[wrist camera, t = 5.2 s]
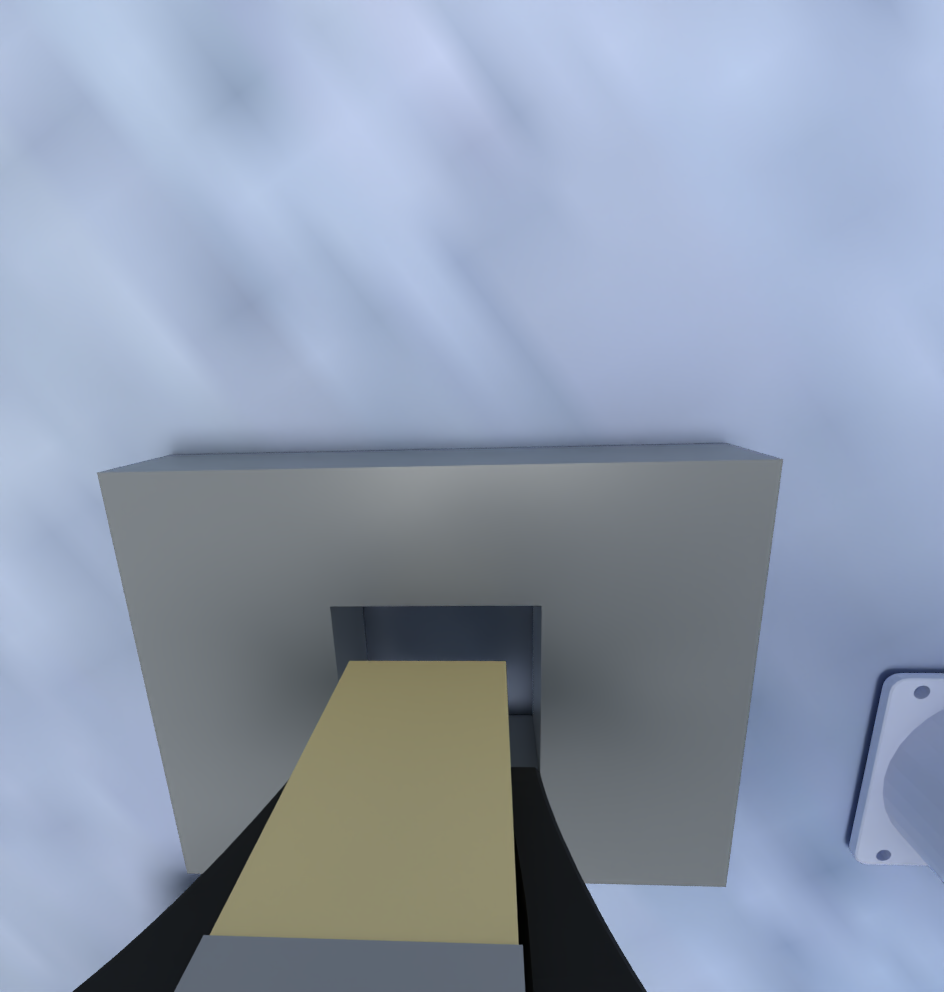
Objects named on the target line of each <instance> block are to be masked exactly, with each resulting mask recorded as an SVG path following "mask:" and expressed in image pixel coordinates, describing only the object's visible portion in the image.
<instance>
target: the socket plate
mask: <svg viewBox="0 0 944 992" xmlns="http://www.w3.org/2000/svg"><path fill="white" fill-rule="evenodd" d="M782 463H783V459H780V458H776V457H773V456H770V455H766V454H763V453H759V452H756V451H752V450H749V449H745V448H742V447H738V446H735V445H731V444H728V443H705V444H658V445H611V446H564V447H517V448H470V449H423V450H376V451H329V452H282V453H235V454H188V455H168V456H164V457H160V458H156V459H151V460H147V461H143V462H139V463H135V464H131V465H127V466H123V467H119V468H114V469H110V470H106V471H102V472H98V473H97V474H98V479H99V483H100V488H101V492H102V497H103V501H104V505H105V510H106V514H107V519H108V523H109V528H110V532H111V536H112V541H113V545H114V550H115V554H116V559H117V563H118V568H119V572H120V576H121V581H122V585H123V590H124V594H125V599H126V603H127V607H128V612H129V616H130V621H131V625H132V630H133V634H134V639H135V643H136V647H137V652H138V656H139V661H140V665H141V670H142V674H143V678H144V683H145V687H146V692H147V696H148V701H149V705H150V710H151V714H152V718H153V723H154V727H155V732H156V736H157V741H158V745H159V749H160V754H161V758H162V763H163V767H164V772H165V776H166V781H167V785H168V789H169V794H170V798H171V803H172V807H173V812H174V816H175V820H176V825H177V829H178V834H179V838H180V843H181V847H182V852H183V856H184V860H185V865H186V869H187V873H194V874H203V873H204V872H205V871H206V870H207V869H208V868H209V867H210V866H211V865H212V864H213V863H214V861H215V860H216V859H217V858H218V857H219V856H220V855H221V854H222V853H223V852H224V851H225V850H226V849H227V848H228V847H229V846H230V844H231V843H232V842H233V841H234V840H235V839H236V838H237V837H238V836H239V835H240V834H241V833H242V831H243V830H244V829H245V828H246V827H247V826H248V825H249V824H250V823H251V822H252V821H253V819H254V818H255V817H256V816H257V815H258V814H259V813H260V812H261V811H262V809H263V808H264V807H265V806H266V805H267V804H268V803H269V802H270V800H271V799H272V798H273V797H274V796H275V795H276V794H277V792H278V791H279V790H280V789H281V788H282V787H283V786H284V784H285V783H286V782H287V781H288V780H289V778H290V776H291V774H292V772H293V770H294V768H295V766H296V765H297V763H298V761H299V759H300V757H301V755H302V753H303V751H304V749H305V747H306V745H307V743H308V741H309V739H310V737H311V735H312V733H313V731H314V729H315V727H316V725H317V723H318V721H319V719H320V717H321V715H322V714H323V712H324V710H325V708H326V706H327V704H328V702H329V700H330V698H331V696H332V694H333V692H334V690H335V688H336V686H337V684H338V682H339V680H340V678H341V676H342V674H343V672H344V670H345V668H346V666H347V664H348V663H349V661H368V657H367V647H366V636H365V625H364V614H363V606H533V715H508V719H509V741H510V763H511V767H535V768H536V769H538V770H539V771H540V774H541V778H542V782H543V785H544V789H545V792H546V795H547V798H548V801H549V803H550V806H551V809H552V811H553V814H554V817H555V819H556V822H557V824H558V827H559V829H560V831H561V834H562V836H563V838H564V840H565V843H566V845H567V847H568V849H569V851H570V853H571V856H572V858H573V860H574V862H575V864H576V866H577V869H578V871H579V873H580V875H581V877H582V879H583V881H584V883H593V884H633V885H673V886H713V887H726V882H727V874H728V867H729V859H730V852H731V844H732V837H733V829H734V822H735V814H736V807H737V799H738V792H739V784H740V777H741V769H742V762H743V755H744V747H745V740H746V732H747V725H748V717H749V710H750V702H751V695H752V687H753V680H754V672H755V665H756V657H757V650H758V642H759V635H760V627H761V620H762V612H763V605H764V597H765V590H766V582H767V575H768V567H769V560H770V553H771V545H772V538H773V530H774V523H775V515H776V508H777V500H778V493H779V485H780V478H781V470H782Z"/></svg>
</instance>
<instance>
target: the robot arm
mask: <svg viewBox="0 0 944 992" xmlns="http://www.w3.org/2000/svg"><path fill="white" fill-rule="evenodd" d="M917 687H919V688H918V689H916V688H917ZM915 689H916V690H915ZM287 782H288V781H287ZM287 782H286V783H285V784H284V786H283V787H282V788H281V789H280V790H279V791H278V792H277V794H276V795H275V796H274V797H273V798H272V799H271V800H270V802H269V803H268V804H267V805H266V806H265V807H264V808H263V809H262V811H261V812H260V813H259V814H258V815H257V816H256V817H255V818H254V819H253V821H252V822H251V823H250V824H249V825H248V826H247V827H246V828H245V829H244V830H243V831H242V833H241V834H240V835H239V836H238V837H237V838H236V839H235V840H234V841H233V842H232V843H231V844H230V846H229V847H228V848H227V849H226V850H225V851H224V852H223V853H222V854H221V855H220V856H219V857H218V858H217V859H216V860H215V861H214V863H213V864H212V865H211V866H210V867H209V868H208V869H207V870H206V871H205V872H204V873H203V874H202V875H201V876H200V877H199V878H198V879H197V880H196V881H195V882H194V883H193V884H192V885H191V886H190V887H189V888H188V889H187V890H186V891H185V892H184V893H183V894H182V895H181V896H180V897H179V898H178V899H177V900H176V901H175V902H174V903H173V904H172V905H170V906H169V907H168V908H167V909H166V910H165V911H164V912H163V913H162V914H161V915H160V916H159V917H158V918H157V919H156V920H155V921H154V922H152V923H151V924H150V925H149V926H148V927H147V928H146V929H145V930H144V931H143V932H142V933H140V934H139V935H138V936H137V937H136V938H135V939H134V940H133V941H132V942H130V943H129V944H128V945H127V946H126V947H125V948H124V949H123V950H122V951H120V952H119V953H118V954H117V955H116V956H115V957H114V958H112V959H111V960H110V961H109V962H108V963H106V964H105V965H104V966H103V967H102V968H101V969H99V970H98V971H97V972H96V973H95V974H93V975H92V976H91V977H90V978H89V979H87V980H86V981H85V982H84V983H82V984H81V985H80V986H79V987H78V988H76V989H75V990H74V991H73V992H174V991H175V989H176V987H177V985H178V983H179V981H180V980H181V978H182V976H183V974H184V972H185V970H186V968H187V966H188V964H189V962H190V960H191V958H192V956H193V955H194V953H195V951H196V949H197V947H198V945H199V943H200V941H201V939H202V937H203V935H210V933H211V931H212V929H213V927H214V925H215V923H216V921H217V920H218V918H219V916H220V914H221V912H222V910H223V908H224V906H225V904H226V902H227V900H228V898H229V896H230V894H231V892H232V890H233V888H234V886H235V884H236V882H237V880H238V878H239V876H240V874H241V872H242V870H243V869H244V867H245V865H246V863H247V861H248V859H249V857H250V855H251V853H252V851H253V849H254V847H255V845H256V843H257V841H258V839H259V837H260V835H261V833H262V831H263V829H264V827H265V825H266V823H267V821H268V819H269V817H270V816H271V814H272V812H273V810H274V808H275V806H276V804H277V802H278V800H279V798H280V796H281V794H282V792H283V790H284V788H285V786H286V784H287ZM511 785H512V808H513V830H514V852H515V874H516V896H517V919H518V941H519V945H523V958H524V977H525V992H647V991H646V990H645V988H644V987H643V985H642V983H641V982H640V980H639V979H638V977H637V975H636V974H635V972H634V971H633V969H632V967H631V966H630V964H629V962H628V961H627V959H626V957H625V956H624V954H623V952H622V951H621V949H620V947H619V945H618V944H617V942H616V940H615V939H614V937H613V935H612V933H611V932H610V930H609V928H608V926H607V924H606V923H605V921H604V919H603V917H602V915H601V913H600V912H599V910H598V908H597V906H596V904H595V902H594V900H593V898H592V896H591V894H590V893H589V891H588V889H587V887H586V885H585V883H584V881H583V879H582V877H581V875H580V873H579V871H578V869H577V866H576V864H575V862H574V860H573V858H572V856H571V853H570V851H569V849H568V847H567V845H566V843H565V840H564V838H563V836H562V834H561V831H560V829H559V827H558V824H557V822H556V819H555V817H554V814H553V811H552V809H551V806H550V803H549V801H548V798H547V795H546V792H545V789H544V785H543V782H542V778H541V774H540V771H539V770H538V769H536V768H535V767H511ZM849 850H850V852H851V853H852V854H853V856H854V857H855V858H856V860H857V861H858V862H860V863H862V864H870V865H915V866H929V867H930V868H931V869H932V870H933V872H934V873H935V874H936V875H937V876H938V877H939V878H940V879H941V881H942V882H943V883H944V673H898V674H893V675H891V676H889V677H888V678H887V679H886V680H885V682H884V684H883V687H882V692H881V696H880V701H879V706H878V711H877V715H876V720H875V725H874V730H873V734H872V739H871V744H870V749H869V753H868V758H867V763H866V768H865V772H864V777H863V782H862V787H861V791H860V796H859V801H858V806H857V810H856V815H855V820H854V825H853V829H852V834H851V839H850V844H849Z"/></svg>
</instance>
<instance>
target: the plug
mask: <svg viewBox="0 0 944 992" xmlns="http://www.w3.org/2000/svg"><path fill="white" fill-rule="evenodd" d="M174 992H525V977H524V958H523V945H519V941H518V919H517V896H516V874H515V852H514V830H513V808H512V785H511V763H510V741H509V719H508V696H507V674H506V661H349V663H348V664H347V666H346V668H345V670H344V672H343V674H342V676H341V678H340V680H339V682H338V684H337V686H336V688H335V690H334V692H333V694H332V696H331V698H330V700H329V702H328V704H327V706H326V708H325V710H324V712H323V714H322V715H321V717H320V719H319V721H318V723H317V725H316V727H315V729H314V731H313V733H312V735H311V737H310V739H309V741H308V743H307V745H306V747H305V749H304V751H303V753H302V755H301V757H300V759H299V761H298V763H297V765H296V766H295V768H294V770H293V772H292V774H291V776H290V778H289V780H288V782H287V784H286V786H285V788H284V790H283V792H282V794H281V796H280V798H279V800H278V802H277V804H276V806H275V808H274V810H273V812H272V814H271V816H270V817H269V819H268V821H267V823H266V825H265V827H264V829H263V831H262V833H261V835H260V837H259V839H258V841H257V843H256V845H255V847H254V849H253V851H252V853H251V855H250V857H249V859H248V861H247V863H246V865H245V867H244V869H243V870H242V872H241V874H240V876H239V878H238V880H237V882H236V884H235V886H234V888H233V890H232V892H231V894H230V896H229V898H228V900H227V902H226V904H225V906H224V908H223V910H222V912H221V914H220V916H219V918H218V920H217V921H216V923H215V925H214V927H213V929H212V931H211V933H210V935H203V937H202V939H201V941H200V943H199V945H198V947H197V949H196V951H195V953H194V955H193V956H192V958H191V960H190V962H189V964H188V966H187V968H186V970H185V972H184V974H183V976H182V978H181V980H180V981H179V983H178V985H177V987H176V989H175V991H174Z"/></svg>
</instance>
